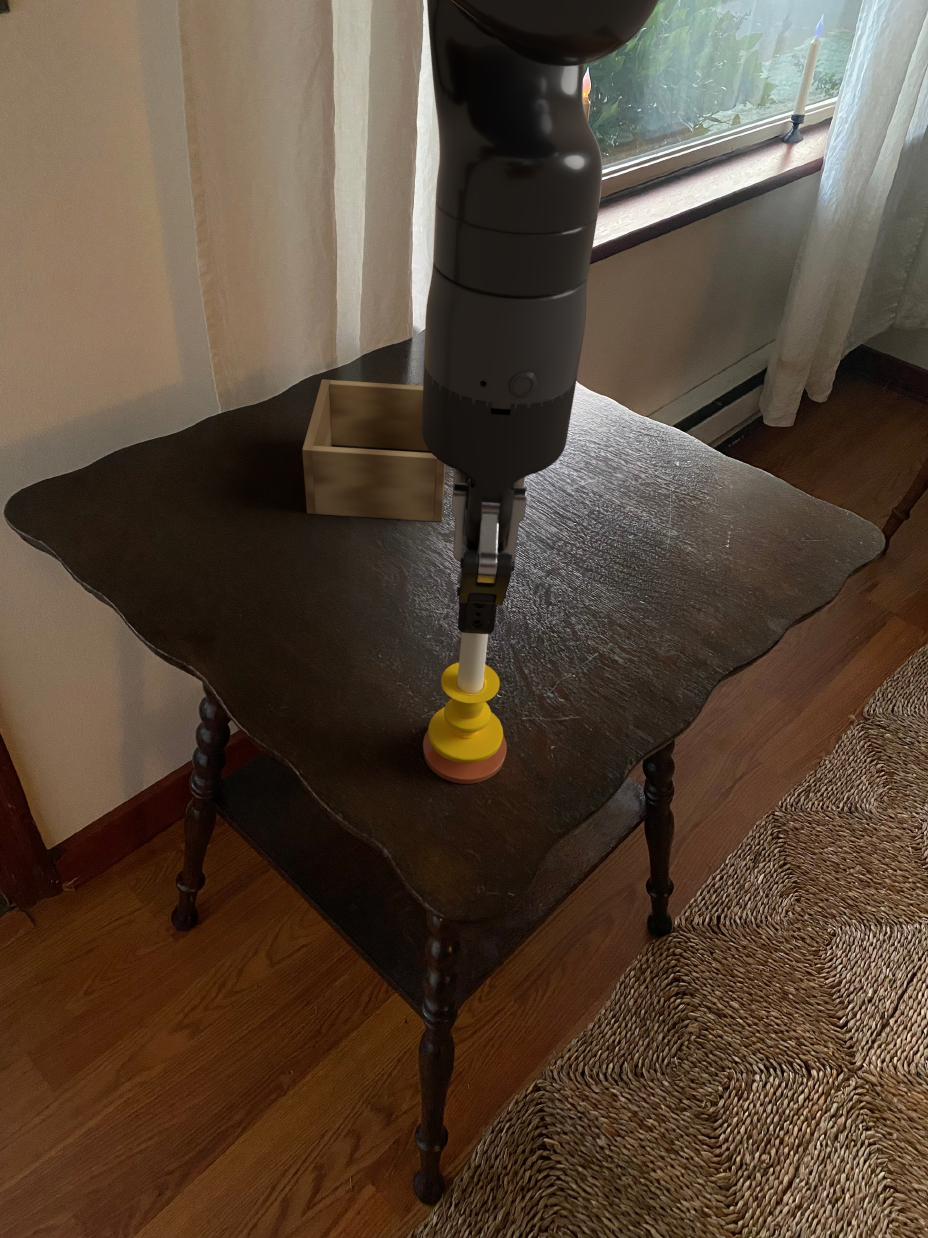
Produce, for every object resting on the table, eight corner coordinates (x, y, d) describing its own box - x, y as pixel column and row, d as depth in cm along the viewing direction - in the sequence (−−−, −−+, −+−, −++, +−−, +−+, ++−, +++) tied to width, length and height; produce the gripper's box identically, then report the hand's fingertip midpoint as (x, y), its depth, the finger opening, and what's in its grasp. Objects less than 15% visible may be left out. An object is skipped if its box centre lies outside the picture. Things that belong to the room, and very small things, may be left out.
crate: (306, 513, 83) (302, 449, 79) (325, 440, 93) (321, 378, 88) (441, 522, 84) (445, 458, 79) (446, 448, 93) (450, 387, 88)
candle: (423, 710, 64) (431, 535, 54) (494, 704, 65) (516, 530, 55) (433, 767, 60) (444, 591, 50) (509, 760, 61) (535, 585, 51)
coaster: (420, 782, 62) (420, 776, 62) (425, 715, 67) (425, 710, 66) (506, 786, 62) (507, 781, 62) (505, 720, 67) (506, 715, 66)
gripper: (431, 293, 48) (421, 544, 60) (415, 428, 38) (407, 697, 50) (569, 302, 49) (532, 551, 60) (589, 439, 39) (540, 705, 51)
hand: (475, 616), depth 55 cm, fingers closed on candle
